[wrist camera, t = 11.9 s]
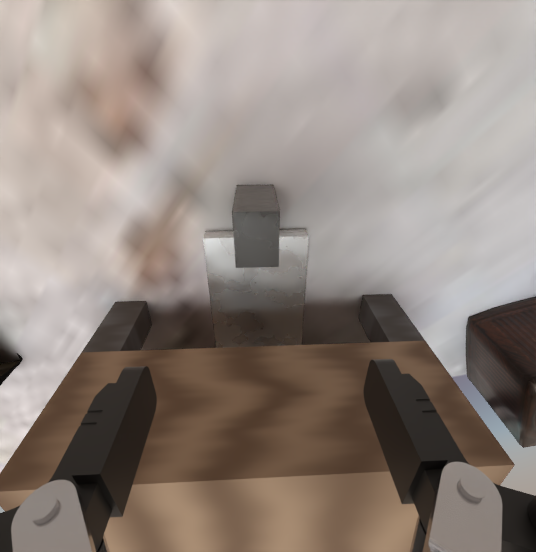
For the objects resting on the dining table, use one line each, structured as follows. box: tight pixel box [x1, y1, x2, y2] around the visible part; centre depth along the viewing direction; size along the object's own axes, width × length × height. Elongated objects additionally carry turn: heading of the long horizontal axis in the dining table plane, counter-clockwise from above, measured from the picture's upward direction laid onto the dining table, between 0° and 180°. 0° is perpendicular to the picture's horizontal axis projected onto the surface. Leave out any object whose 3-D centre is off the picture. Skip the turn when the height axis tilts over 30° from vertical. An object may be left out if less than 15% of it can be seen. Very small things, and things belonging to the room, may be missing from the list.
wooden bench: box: [0, 294, 514, 552], centre depth 27 cm, size 28×13×17 cm, turn 90°
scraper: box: [203, 185, 309, 348], centre depth 29 cm, size 9×28×7 cm, turn 0°
